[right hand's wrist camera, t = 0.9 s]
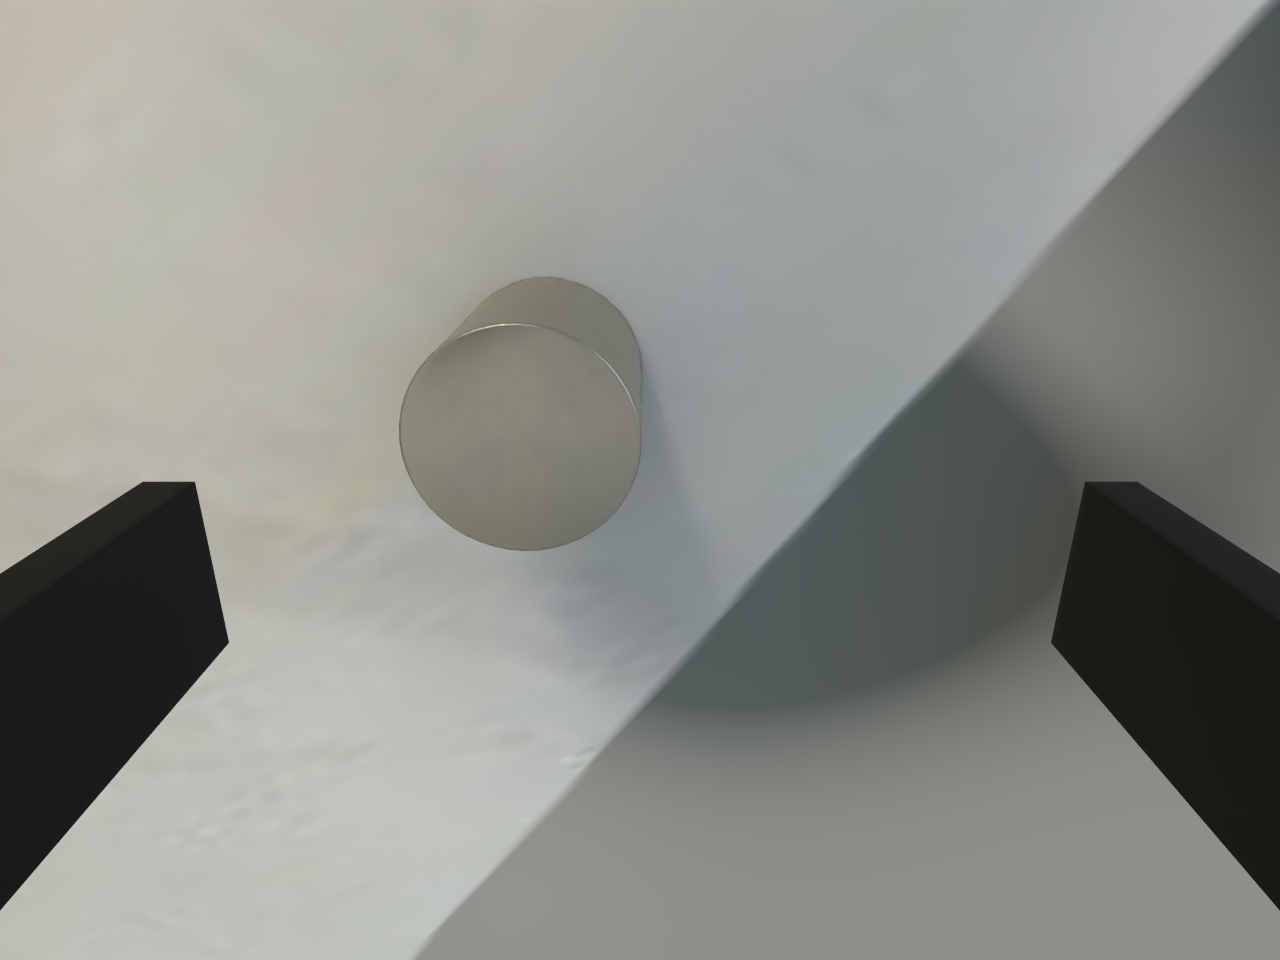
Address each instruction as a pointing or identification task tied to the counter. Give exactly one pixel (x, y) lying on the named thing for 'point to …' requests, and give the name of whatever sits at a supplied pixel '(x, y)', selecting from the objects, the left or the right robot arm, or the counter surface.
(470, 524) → the tin
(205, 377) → the counter surface
